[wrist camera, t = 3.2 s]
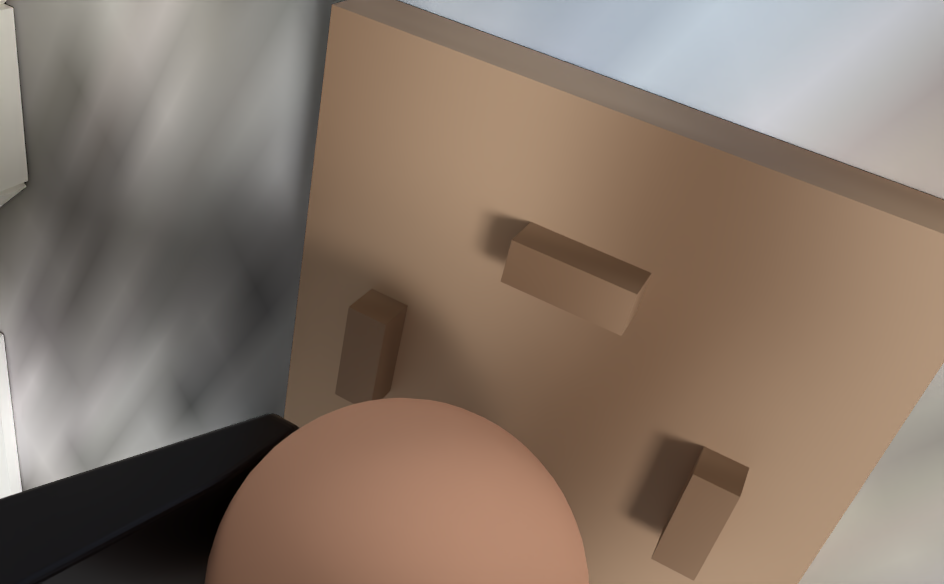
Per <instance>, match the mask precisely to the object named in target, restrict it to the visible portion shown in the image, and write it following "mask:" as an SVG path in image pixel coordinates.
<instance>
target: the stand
mask: <svg viewBox="0 0 944 584" xmlns="http://www.w3.org/2000/svg"><path fill="white" fill-rule="evenodd" d="M943 363H944V200H942V199H940V198H937V197H934V196H931V195H929V194H926V193H923V192H920V191H918V190H915V189H912V188H910V187H907V186H904V185H901V184H899V183H896V182H893V181H890V180H888V179H885V178H882V177H879V176H877V175H874V174H871V173H868V172H866V171H863V170H860V169H857V168H855V167H852V166H849V165H846V164H844V163H841V162H838V161H836V160H833V159H830V158H827V157H825V156H822V155H819V154H816V153H814V152H811V151H808V150H805V149H803V148H800V147H797V146H794V145H792V144H789V143H786V142H783V141H781V140H778V139H775V138H772V137H770V136H767V135H764V134H762V133H759V132H756V131H753V130H751V129H748V128H745V127H742V126H740V125H737V124H734V123H731V122H729V121H726V120H723V119H720V118H718V117H715V116H712V115H709V114H707V113H704V112H701V111H698V110H696V109H693V108H690V107H688V106H685V105H682V104H679V103H677V102H674V101H671V100H668V99H666V98H663V97H660V96H657V95H655V94H652V93H649V92H646V91H644V90H641V89H638V88H635V87H633V86H630V85H627V84H625V83H622V82H619V81H616V80H614V79H611V78H608V77H605V76H603V75H600V74H597V73H594V72H592V71H589V70H586V69H583V68H581V67H578V66H575V65H572V64H570V63H567V62H564V61H561V60H559V59H556V58H553V57H551V56H548V55H545V54H542V53H540V52H537V51H534V50H531V49H529V48H526V47H523V46H520V45H518V44H515V43H512V42H509V41H507V40H504V39H501V38H498V37H496V36H493V35H490V34H487V33H485V32H482V31H479V30H477V29H474V28H471V27H468V26H466V25H463V24H460V23H457V22H455V21H452V20H449V19H446V18H444V17H441V16H438V15H435V14H433V13H430V12H427V11H424V10H422V9H419V8H416V7H413V6H411V5H408V4H405V3H403V2H400V1H397V0H346V1H342V2H339V3H335V4H332V8H331V17H330V25H329V34H328V42H327V51H326V60H325V68H324V77H323V85H322V94H321V103H320V111H319V120H318V128H317V137H316V145H315V154H314V163H313V171H312V180H311V188H310V197H309V205H308V214H307V223H306V231H305V240H304V248H303V257H302V266H301V274H300V283H299V291H298V300H297V308H296V317H295V326H294V334H293V343H292V351H291V360H290V369H289V377H288V386H287V394H286V403H285V411H284V419H286V420H288V421H290V422H292V423H293V424H295V425H297V426H298V427H299V428H301V427H302V426H304V425H306V424H308V423H309V422H311V421H313V420H315V419H317V418H318V417H320V416H323V415H325V414H328V413H330V412H332V411H335V410H338V409H340V408H343V407H346V406H349V405H352V404H357V403H361V402H366V401H371V400H378V399H387V398H412V399H425V400H433V401H438V402H443V403H447V404H450V405H454V406H457V407H460V408H463V409H465V410H468V411H470V412H472V413H475V414H477V415H479V416H481V417H484V418H486V419H487V420H489V421H491V422H493V423H495V424H496V425H498V426H500V427H501V428H503V429H504V430H506V431H507V432H508V433H510V434H511V435H513V436H514V437H515V438H516V439H517V440H519V441H520V442H521V443H522V444H523V445H525V446H526V447H527V448H528V449H529V450H530V451H531V452H532V453H533V454H534V456H535V457H536V458H537V459H538V460H539V461H540V462H541V463H542V464H543V466H544V467H545V468H546V470H547V471H548V472H549V473H550V475H551V476H552V477H553V478H554V480H555V482H556V483H557V485H558V486H559V488H560V489H561V491H562V493H563V494H564V496H565V498H566V500H567V502H568V504H569V506H570V509H571V511H572V513H573V516H574V518H575V520H576V523H577V526H578V529H579V532H580V535H581V538H582V541H583V546H584V551H585V556H586V562H587V568H588V573H589V584H798V583H799V581H800V580H801V578H802V577H803V575H804V574H805V572H806V570H807V569H808V567H809V566H810V564H811V563H812V561H813V560H814V558H815V557H816V555H817V554H818V552H819V551H820V549H821V548H822V546H823V545H824V543H825V542H826V540H827V539H828V537H829V536H830V534H831V533H832V531H833V529H834V528H835V526H836V525H837V523H838V522H839V520H840V519H841V517H842V516H843V514H844V513H845V511H846V510H847V508H848V507H849V505H850V504H851V502H852V501H853V499H854V498H855V496H856V495H857V493H858V492H859V490H860V489H861V487H862V485H863V484H864V482H865V481H866V479H867V478H868V476H869V475H870V473H871V472H872V470H873V469H874V467H875V466H876V464H877V463H878V461H879V460H880V458H881V457H882V455H883V454H884V452H885V451H886V449H887V448H888V446H889V445H890V443H891V441H892V440H893V438H894V437H895V435H896V434H897V432H898V431H899V429H900V428H901V426H902V425H903V423H904V422H905V420H906V419H907V417H908V416H909V414H910V413H911V411H912V410H913V408H914V407H915V405H916V404H917V402H918V400H919V399H920V397H921V396H922V394H923V393H924V391H925V390H926V388H927V387H928V385H929V384H930V382H931V381H932V379H933V378H934V376H935V375H936V373H937V372H938V370H939V369H940V367H941V366H942V364H943Z"/></svg>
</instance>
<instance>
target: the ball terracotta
mask: <svg viewBox="0 0 944 584" xmlns="http://www.w3.org/2000/svg"><path fill="white" fill-rule="evenodd" d="M205 584H589V573H588V568H587V562H586V556H585V551H584V546H583V541H582V538H581V535H580V532H579V529H578V526H577V523H576V520H575V518H574V516H573V513H572V511H571V509H570V506H569V504H568V502H567V500H566V498H565V496H564V494H563V493H562V491H561V489H560V488H559V486H558V485H557V483H556V482H555V480H554V478H553V477H552V476H551V475H550V473H549V472H548V471H547V470H546V468H545V467H544V466H543V464H542V463H541V462H540V461H539V460H538V459H537V458H536V457H535V456H534V454H533V453H532V452H531V451H530V450H529V449H528V448H527V447H526V446H525V445H523V444H522V443H521V442H520V441H519V440H517V439H516V438H515V437H514V436H513V435H511V434H510V433H508V432H507V431H506V430H504V429H503V428H501V427H500V426H498V425H496V424H495V423H493V422H491V421H489V420H487V419H486V418H484V417H481V416H479V415H477V414H475V413H472V412H470V411H468V410H465V409H463V408H460V407H457V406H454V405H450V404H447V403H443V402H438V401H433V400H425V399H412V398H387V399H378V400H371V401H366V402H361V403H357V404H352V405H349V406H346V407H343V408H340V409H338V410H335V411H332V412H330V413H328V414H325V415H323V416H320V417H318V418H317V419H315V420H313V421H311V422H309V423H308V424H306V425H304V426H302V427H301V428H299V429H298V430H296V431H295V432H293V433H292V434H290V435H289V436H288V437H286V438H285V439H284V440H283V441H281V442H280V443H279V444H278V445H276V446H275V447H274V448H273V449H272V450H271V451H270V452H269V453H268V454H267V455H266V456H265V457H264V458H263V459H262V460H261V461H260V462H259V464H258V465H257V466H256V467H255V468H254V469H253V470H252V471H251V472H250V473H249V475H248V476H247V478H246V479H245V480H244V482H243V483H242V485H241V486H240V488H239V489H238V491H237V492H236V494H235V495H234V497H233V499H232V500H231V502H230V503H229V506H228V508H227V510H226V512H225V514H224V516H223V518H222V520H221V522H220V524H219V527H218V530H217V533H216V535H215V538H214V542H213V545H212V548H211V551H210V555H209V558H208V564H207V571H206V577H205Z"/></svg>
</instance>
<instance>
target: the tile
mask: <svg viewBox="0 0 944 584" xmlns="http://www.w3.org/2000/svg"><path fill="white" fill-rule="evenodd" d="M19 492H22V487H21V478H20V470H19V462H18V453H17V445H16V436H15V428H14V419H13V411H12V403H11V394H10V386H9V377H8V369H7V361H6V352H5V344H4V335H3V334H1V333H0V499H1V498H4V497H7V496H10V495H13V494H16V493H19Z"/></svg>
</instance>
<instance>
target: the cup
mask: <svg viewBox="0 0 944 584" xmlns="http://www.w3.org/2000/svg"><path fill="white" fill-rule="evenodd" d="M6 1H7V0H0V207H1V206H2V205H3V204H5V203H6V202H7V201H9V200H10V199H11V198H12V197H14V196H15V195H16V194H18V193H19V192H20V191H21V190H23V189H24V188H25V187H26V185H25V184H24V182H26V181H28V172H27V160H26V149H25V138H24V126H23V115H22V103H21V92H20V80H19V69H18V58H17V46H16V35H15V23H14V12H13V7H10V6H8V5H6V4H4V3H5V2H6Z"/></svg>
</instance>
